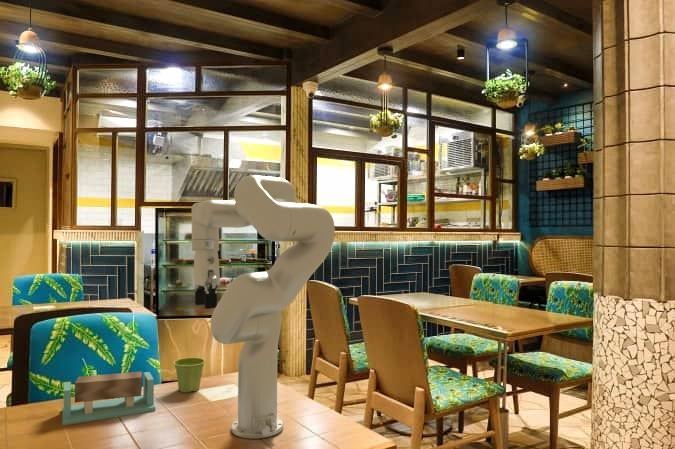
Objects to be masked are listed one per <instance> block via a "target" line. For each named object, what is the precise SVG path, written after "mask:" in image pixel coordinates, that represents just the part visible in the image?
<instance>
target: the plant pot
mask: <svg viewBox="0 0 675 449" xmlns="http://www.w3.org/2000/svg"><path fill="white" fill-rule="evenodd" d="M205 363H206V360H205V359H204V358H202V357H194V356H193V357H192V356H191V357H183V358H179V359H175V360H174V361H173V365H174V368H175V371H176V379H177V385H178V386H177V389H178V391H180V392H181V393H191V392H197V391H199V389H200V387H201V385H200V384H201V379H202V373H203V372H202V371H203V367H204V366H205V365H204V364H205Z"/></svg>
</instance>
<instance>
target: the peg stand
mask: <svg viewBox="0 0 675 449" xmlns="http://www.w3.org/2000/svg"><path fill="white" fill-rule="evenodd" d="M154 383H155V379H154V376H153V375H152V374H151V372H150V371H146V372H143V374H142V386H143V387H142V388H143V389H142V391H143V393H142V394H141V396H136V397H126V398H116V399H106V400H97V401H86V402H84V403H79V404H72V382H71V381H65V382H64V381H63V406H62V421H61V422H62V426H68V425H69V426H70V425H75V424H80V423H87V422H93V421H99V420H104V419H105V420H106V419H114V418H118V417H125V416H130V415H136V414H143V413H149V412H155V411H156V405H155V403H154V402H155V399H154V397H155V394H154V389H155V384H154Z"/></svg>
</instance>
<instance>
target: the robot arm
mask: <svg viewBox="0 0 675 449" xmlns="http://www.w3.org/2000/svg"><path fill="white" fill-rule="evenodd" d="M234 188H235V189H234V192H233V193H234V194H233V195H234V200H228V199H227V200H225V199H207V200H204V201H202V202H195V203H193V205H192V206H191V252H194V259H193V260H194V261H193V281H194V284H195V286H194V289H195V290H194V294H195V295H194V305H195V306H202V305H204V308H205V310H209V309H210V310H211V309H214V310H213V312H212V314H211V317H210V332H211V335H212V337H213V339H214V340H215V341H216V342H218V343H220V344H222V345H234V344H238V343H243V344H242V345H241V348H240V352H239V354H238V361H237V362H238V364H237V365H238V366H237V367H238V368H237V369H238V371H237V373H238V375H237V376H238V377H237V382H238V383H237V386H238V387H237V388H238V389H237V419H236V420H235V421H233V423H231V426H230V427H231V430H230V431H231V432H232V434H233V435H235V436H237V437H239V438H243V439H253V440H254V439H255V440H257V439H265V438H270V437H273V436H275V435H277V434H279V433H281V431H283V429H284V422H283V420H282V419H281V418H279V417H278V352H279V349H278V348H279V339H280V334H281V328H282V323H283V314H282V311H284V310H286V309H287V308H289V307H290V306H291V304H292V303H293V302H294V300H295V299H296V298H297V296H298V295H299V293H300V292H301V290H303V289H304V287H305V285H306V284H307V282H308V280H309V279H310V278H311V276H312V275H313V274H314V273H315V272H316V271H317V269H318V268H319V267H320V266H321V264H322V263H323V262H324V261H325V260H326V258H327V257H328V256H329V255H330V252H331V250H332V247H333V244H334V241H335V240H334V239H335V234H336V233H335V232H336V229H335V228H336V226H335V220H334V218H333V216H332V214H331V213H330V211H329V210H328V209H326V208H325V207H323V206H320V205H316V204H311V203H304V202H303V203H300V202H296V199H297V192H296V188H295V186H294V185H293V184H292V183H291V182H290V181H288V180H286V179H285V178H282V177H276V176H267V175H266V176H265V175H264V176H263V175H254V174H251V175H247V176H244V177H242V178H241V179H239V181H238V182H237V183H236V185H235V187H234ZM250 226H252V227H253V228H254V229H255V231H256V232H257V233H258V234H259V235H260V236H261V237H262V238H264V239H265V240H267V241H271V242H275V243H276V242H277V243H279V242H281V243H282V242H294V244H292V245H291V246H289V247H288V248H286V249H285V250H284V251H283V252H282V253H281V254H280V255H279V256H277V258H276V261H275V262H274V264H272V266H271V267H270V268H269V269H268V270H265V271H254V272H246V273H242V274H239V275H237V276H236V277H235V278H233V279H232V280H231V282H230V283H229V284H228V286H227V288H226V289H225V291H224V293H223V294H222V296H221V298H220V300H219V301H218V295H217V294H218V291H217V290H218V289H217V288H218V286H219V285H220V284H221V277H220V275H221V274H220V261H219V260H220V259H219V253H218V252H219V251H220V228H221V229H222V228H232V229H235V228H236V229H237V228H240V229H241V228H245V227H246V228H247V227H250ZM217 302H218V303H217Z"/></svg>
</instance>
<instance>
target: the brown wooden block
mask: <svg viewBox="0 0 675 449" xmlns="http://www.w3.org/2000/svg"><path fill="white" fill-rule="evenodd" d="M142 386H143V371H132V372H131V371H130V372H121V373H111V374H110V373H108V374H98V375H96V374H95V375H84V376H78V377H77V379H76V380H75V383H74V403H83V402H86V401H93V402H97V401H105V400H112V399H119V398H126V397H136V396H141V395H142V391H143V389H142V388H143V387H142Z"/></svg>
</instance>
